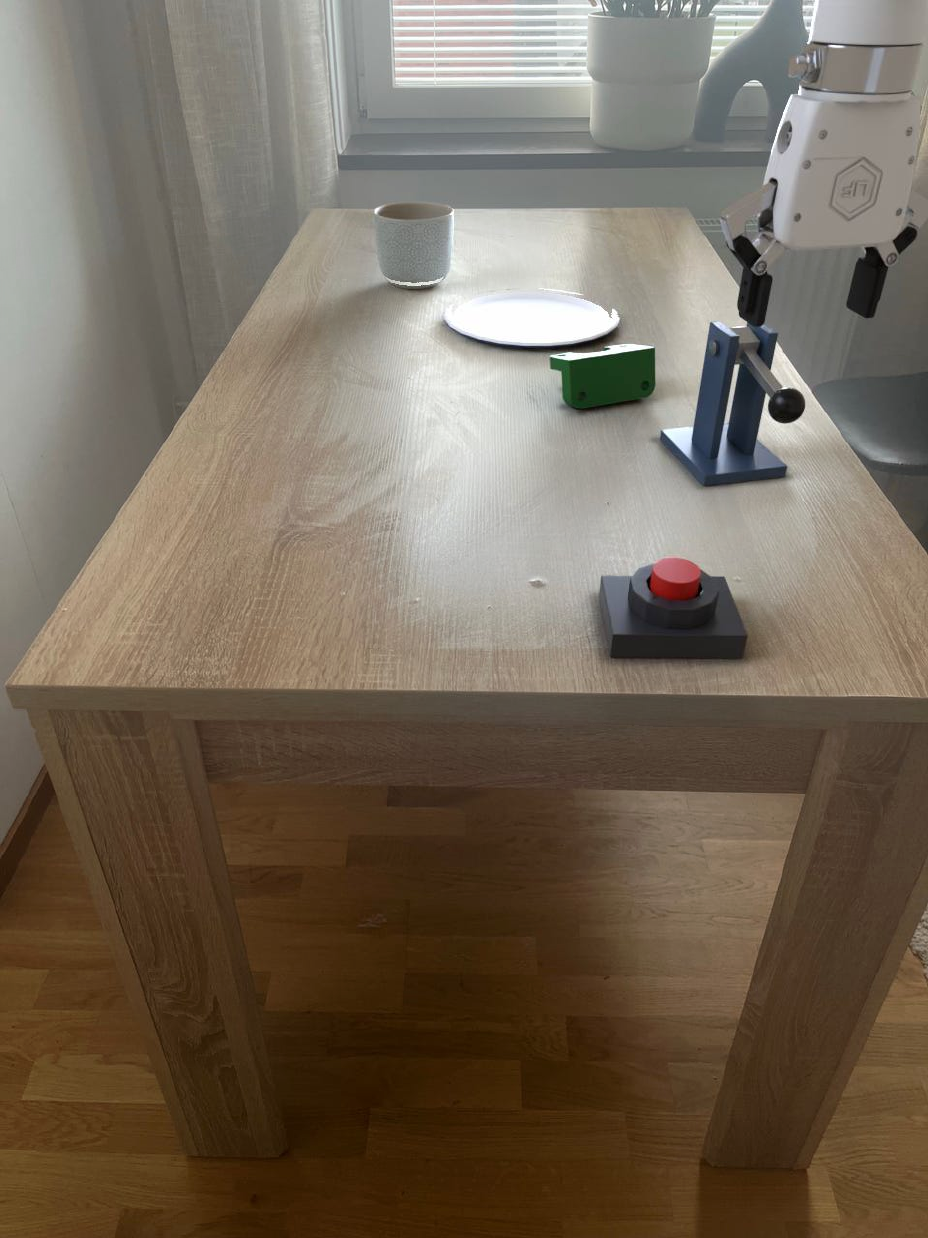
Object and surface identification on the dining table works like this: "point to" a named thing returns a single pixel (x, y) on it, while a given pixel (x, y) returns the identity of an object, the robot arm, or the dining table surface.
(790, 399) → the lever
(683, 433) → the bracket
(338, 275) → the dining table surface
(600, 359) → the green mounting block
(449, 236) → the planter
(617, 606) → the button box
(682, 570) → the button
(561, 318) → the plate
